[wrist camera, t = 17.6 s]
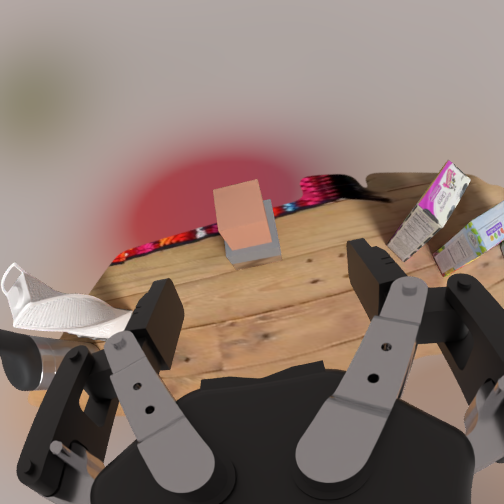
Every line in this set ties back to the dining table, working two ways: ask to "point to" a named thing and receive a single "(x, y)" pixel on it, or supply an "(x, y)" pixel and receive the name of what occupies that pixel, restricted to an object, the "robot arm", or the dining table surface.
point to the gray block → (258, 250)
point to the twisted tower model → (61, 310)
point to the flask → (502, 247)
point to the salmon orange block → (242, 215)
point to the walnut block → (257, 262)
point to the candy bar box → (430, 211)
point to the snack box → (472, 241)
